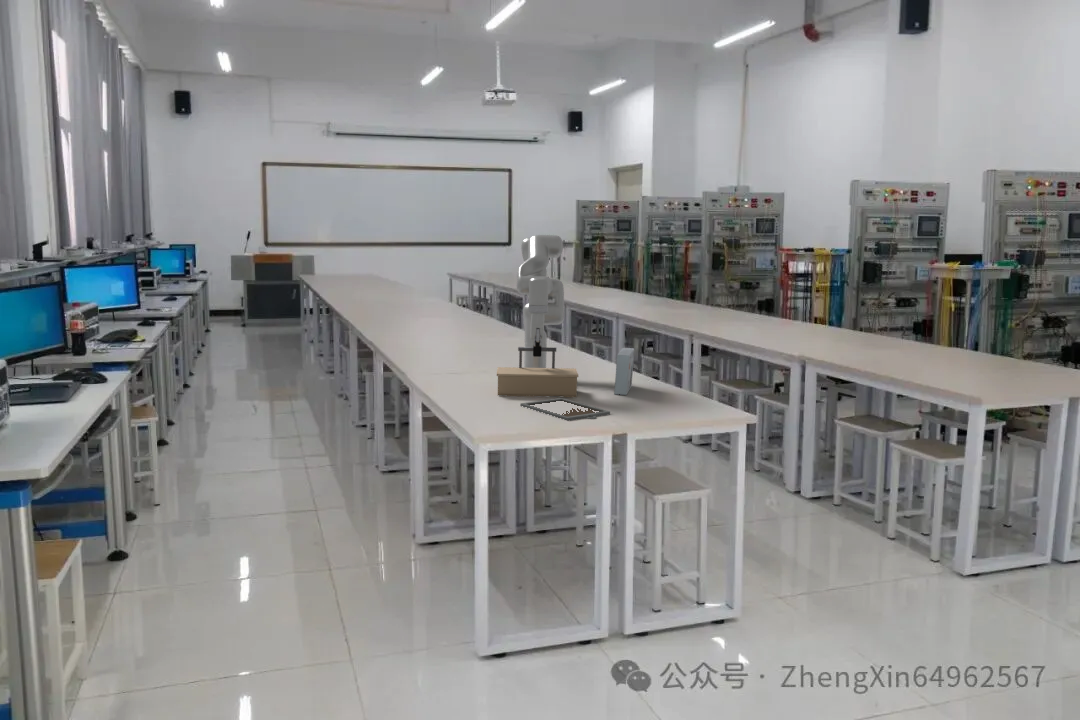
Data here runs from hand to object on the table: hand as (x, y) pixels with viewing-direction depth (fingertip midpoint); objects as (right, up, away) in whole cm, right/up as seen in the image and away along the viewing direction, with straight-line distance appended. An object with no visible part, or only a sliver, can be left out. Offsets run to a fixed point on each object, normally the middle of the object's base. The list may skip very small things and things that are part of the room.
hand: (537, 355), depth 338 cm
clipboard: (+11, -20, -35) cm, 42 cm away
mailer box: (0, -14, -5) cm, 15 cm away
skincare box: (+35, -14, +5) cm, 38 cm away
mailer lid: (0, -7, -6) cm, 9 cm away
